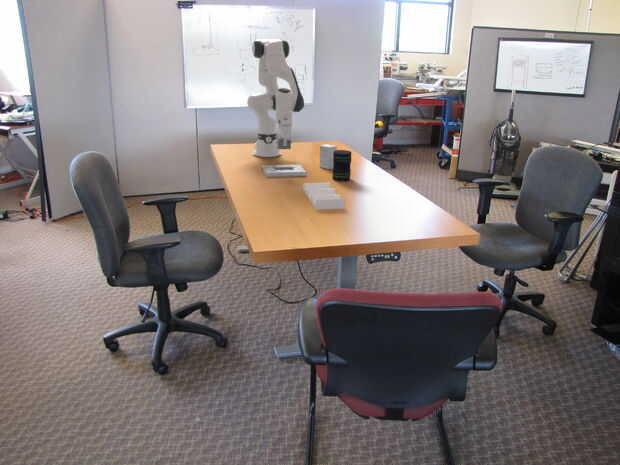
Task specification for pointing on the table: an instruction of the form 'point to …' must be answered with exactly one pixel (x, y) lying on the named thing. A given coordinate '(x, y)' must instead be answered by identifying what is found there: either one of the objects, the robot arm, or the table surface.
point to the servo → (280, 144)
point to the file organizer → (323, 196)
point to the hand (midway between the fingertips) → (283, 145)
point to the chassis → (283, 170)
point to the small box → (327, 156)
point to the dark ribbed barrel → (341, 165)
